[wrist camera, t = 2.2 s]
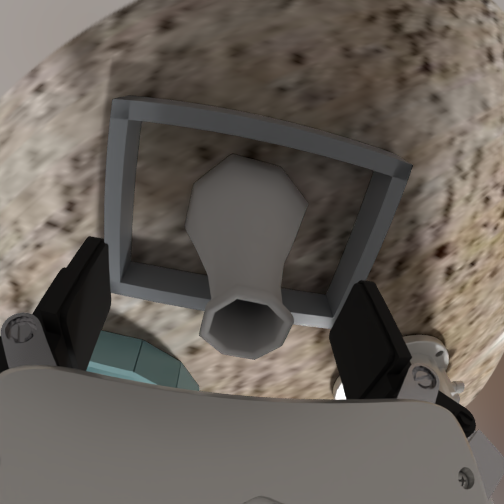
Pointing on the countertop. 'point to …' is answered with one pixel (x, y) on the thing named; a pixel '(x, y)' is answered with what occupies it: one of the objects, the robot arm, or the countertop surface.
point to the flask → (245, 252)
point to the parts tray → (258, 128)
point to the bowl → (138, 362)
